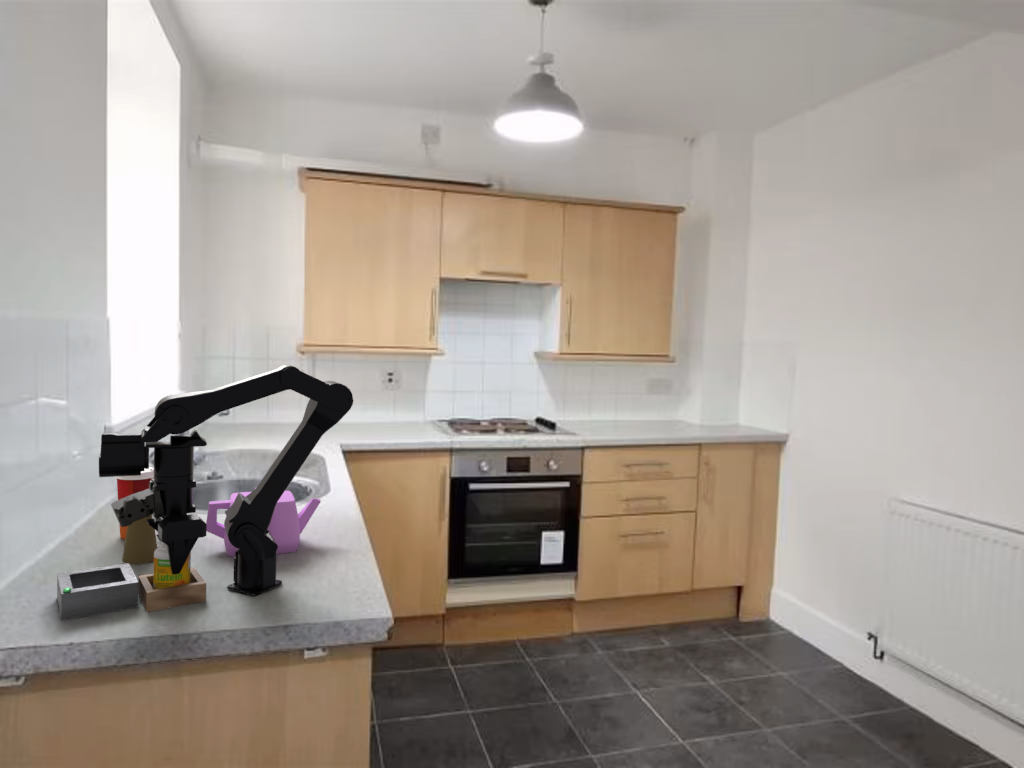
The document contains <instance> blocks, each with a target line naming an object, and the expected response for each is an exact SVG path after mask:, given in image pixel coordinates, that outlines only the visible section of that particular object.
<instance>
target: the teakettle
mask: <svg viewBox="0 0 1024 768" xmlns="http://www.w3.org/2000/svg"><path fill="white" fill-rule="evenodd" d="M256 488H257V486H256V487H255V488H254V490H255V489H256ZM251 492H252V491H243V492H233V493H232V494H230V499H227V500H226V499H225V500H215V501H214V500H212V501H209V502H208V509H207V516H206V522H205V523H206V524H207V529H206V533H207V532H208V533H209V534H211V535H214V536H216V537H218V538H221V539H223V542H224V547H225V551H226V554H227V556H228V557H230V558H235V551H237V550H239V549H238V548H236V547H234V546H233V545H232V544H231V543H230V541H229V539H228V536H227V534H226V531H225V527H224V523H221V522H218V519H217V518H218V510H228V509H229V508H230V507H231V506H232V505H233V503H234V501H235V499H236V497H237V495H238V493H241V494H242V495H243V496H245V497H246V496H247V495H249V494H250V493H251ZM321 502H322V500H321V499H320V498H313V497H311V498H310V500H309V501H308V502H307V503H306V505H304V507H303V508H302V509H301V510H300V512H298V508H297V505H296V499H295V496H294V494H293V493H292V492H291V491H290V490H285V491H284V493H283V494H282V496H281V497H280V499H279V500H278V502H277V504H276V506H275V509H274V512H273V516H272V519H271V522H270V524H269V527H268V529H267V530H269V531H270V533H271V535H272V536H273V538H274V540H275V542H276V543H277V545H278V548H277V551H276V552H277V553H276V555H280V554H281V553H282V554H288V553H287V552H290V553H295V552H297V551H296V550H298V548H299V545H300V539H301V538H300V537H301V534H302V532H303V531H304V529H305V528H306V526H307V525H308V523H309V521H310V520H311V518H312V516H313V515H314V513H315V511H316V510H317V508H318V507H319V505H320V503H321ZM226 517H227V516H226V515H225V518H226ZM294 551H295V552H294Z"/></svg>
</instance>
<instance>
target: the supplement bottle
mask: <svg viewBox="0 0 1024 768" xmlns="http://www.w3.org/2000/svg"><path fill="white" fill-rule="evenodd" d="M158 545H159V546H157V549H156V550H155V551H154V561H153V571H152V572H153V573H152V574H153V590H154V589H160V588H166V587H172V586H178V585H184V584H190V568H191V564H192V563H191V560H192V559H191V556H192V551H191V552H190V554H189V556H188V558H187V560H186V562H185V564H184V566H183V568H182V570H181V572H180V573H179V574H172V571H171V566H170V561H169V555H168V550H167V545H166V544H165V543H163V542H161V541H160V540H159V539H158Z"/></svg>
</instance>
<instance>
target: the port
mask: <svg viewBox="0 0 1024 768" xmlns="http://www.w3.org/2000/svg"><path fill="white" fill-rule="evenodd" d="M137 578H138V577H136V574H135V572H134V570H133V568H132V565H131V564H129V563H121V564H119V563H118V564H113V565H105V566H101V567H100V566H99V567H92V568H84V569H79V570H70V571H64V572H57V573H56V599H57V604H58V611H59V616H60V621H68V620H72V619H79V618H84V617H90V616H97V615H100V614H106V613H112V612H117V611H123V610H129V609H134V608H138V607H139V594H138V579H137Z"/></svg>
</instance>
